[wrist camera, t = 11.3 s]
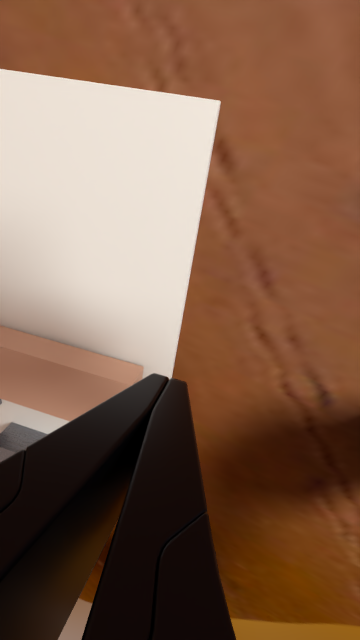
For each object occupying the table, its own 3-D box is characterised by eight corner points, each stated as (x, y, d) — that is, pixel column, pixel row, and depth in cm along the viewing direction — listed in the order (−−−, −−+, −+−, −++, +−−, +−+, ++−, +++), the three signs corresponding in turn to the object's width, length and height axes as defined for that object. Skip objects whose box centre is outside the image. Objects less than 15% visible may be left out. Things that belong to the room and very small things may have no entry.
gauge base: (220, 101, 15) (210, 88, 12) (150, 499, 29) (138, 530, 27) (-107, 54, 18) (-170, 35, 15) (-25, 437, 32) (-50, 460, 30)
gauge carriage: (143, 366, 22) (131, 385, 20) (137, 418, 24) (126, 439, 22) (-38, 314, 24) (-65, 327, 22) (-28, 366, 27) (-51, 381, 25)
